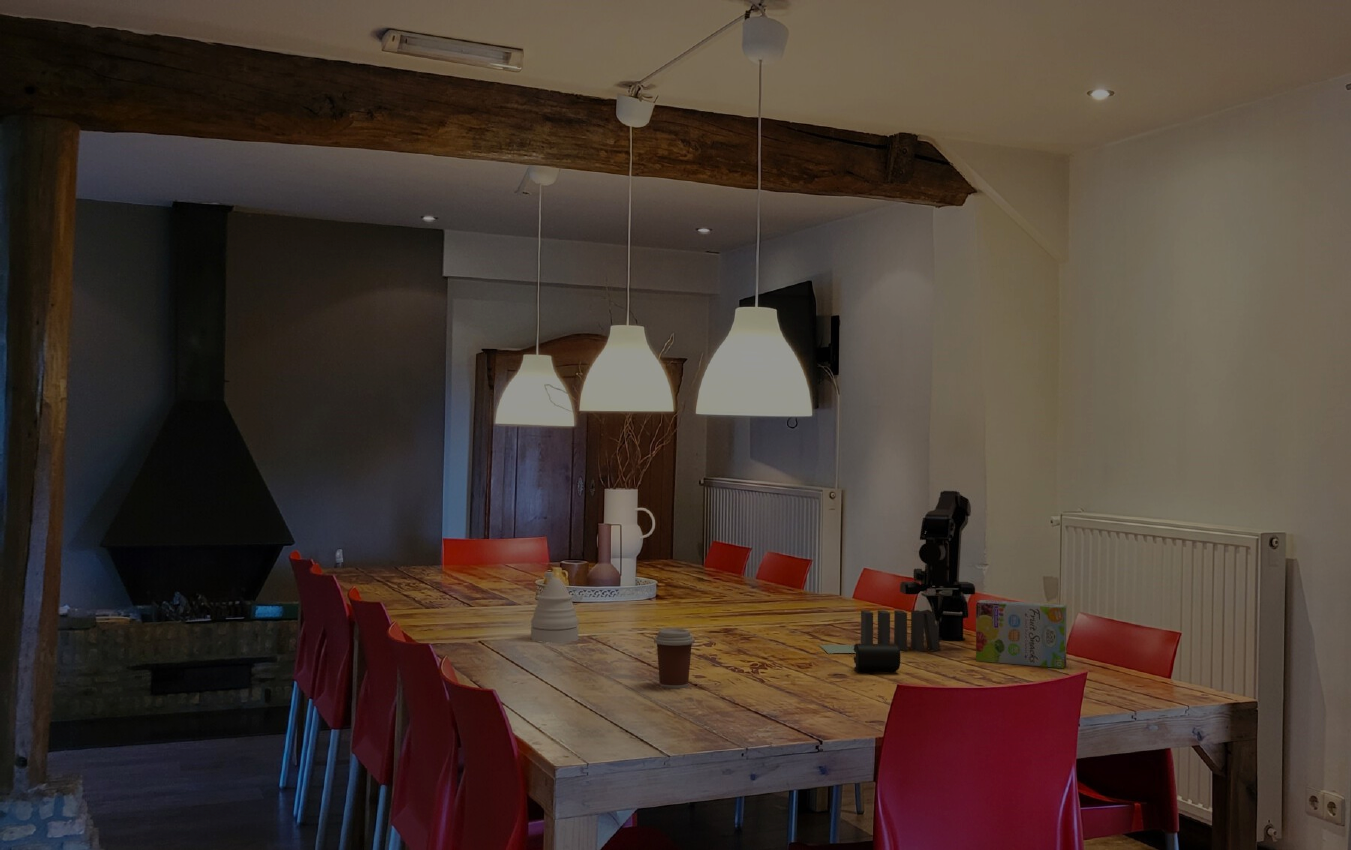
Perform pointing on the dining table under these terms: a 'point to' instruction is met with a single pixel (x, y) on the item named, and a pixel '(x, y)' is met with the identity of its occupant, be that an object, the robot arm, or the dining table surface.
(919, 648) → the domino
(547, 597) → the honey pot
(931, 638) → the domino
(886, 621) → the domino
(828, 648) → the mat
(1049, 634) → the snack box
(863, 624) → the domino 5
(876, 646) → the end cap
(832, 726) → the dining table surface
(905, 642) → the domino
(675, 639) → the coffee cup
